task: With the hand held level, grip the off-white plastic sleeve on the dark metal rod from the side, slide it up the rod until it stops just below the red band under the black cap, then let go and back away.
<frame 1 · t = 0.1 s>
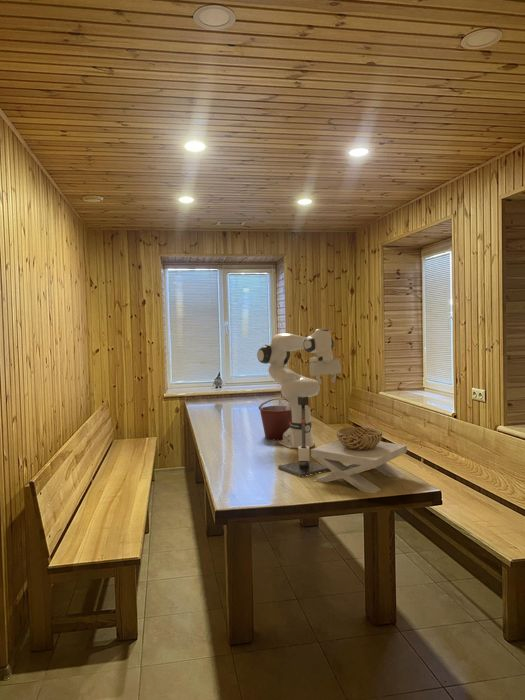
hand: (326, 383, 280), 39 cm above the table, tool pointing down, fingers open, 8 cm apart
bucket: (278, 437, 324), on the table
white table with basket: (359, 478, 236), on the table
rod stand: (304, 469, 251), on the table
sleeve: (303, 453, 251), point 8 cm above the table, slide at 0.0 cm
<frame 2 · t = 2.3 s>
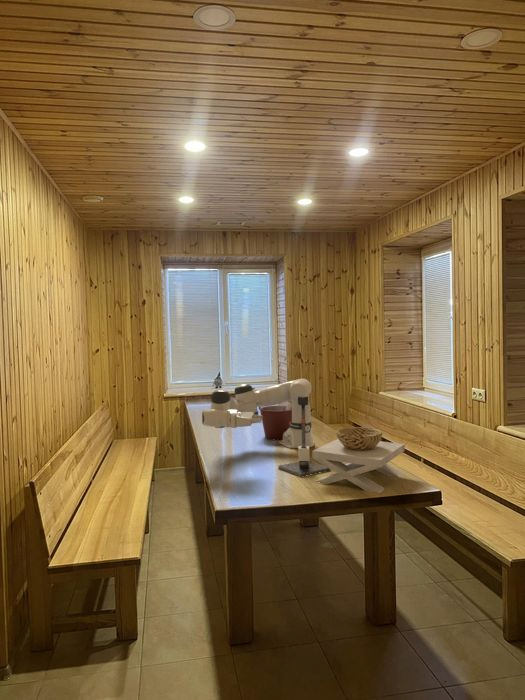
hand: (262, 419, 252), 25 cm above the table, tool horizontal, fingers open, 8 cm apart
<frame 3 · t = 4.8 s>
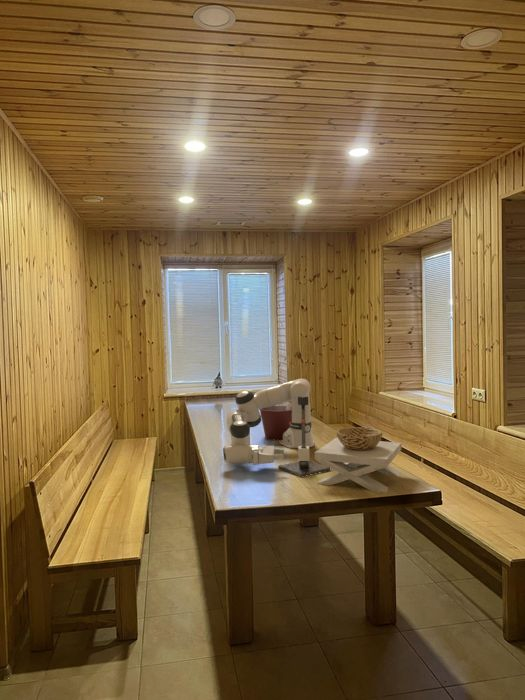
hand: (283, 453, 251), 8 cm above the table, tool horizontal, fingers open, 8 cm apart
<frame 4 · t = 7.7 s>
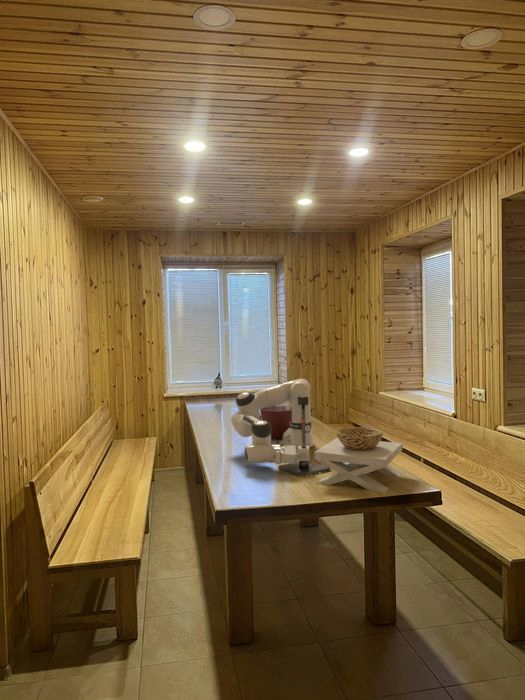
hand: (305, 453, 251), 8 cm above the table, tool horizontal, fingers closed on sleeve, 5 cm apart
sleeve: (303, 453, 251), point 8 cm above the table, slide at 0.0 cm, touching gripper
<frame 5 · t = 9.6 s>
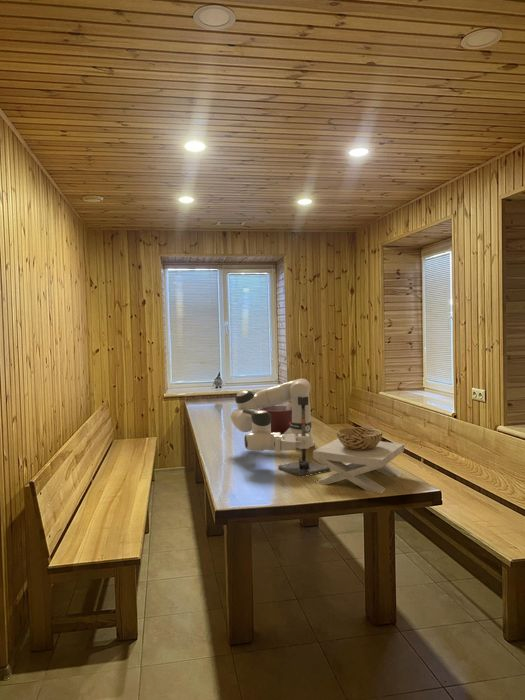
hand: (305, 441, 250), 14 cm above the table, tool horizontal, fingers open, 5 cm apart
sleeve: (303, 441, 251), point 14 cm above the table, slide at 6.0 cm, touching gripper
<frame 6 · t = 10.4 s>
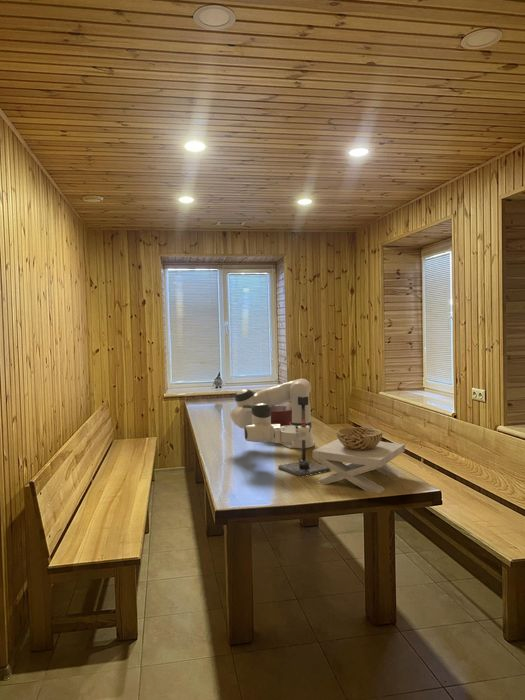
hand: (305, 432, 250), 18 cm above the table, tool horizontal, fingers closed on sleeve, 5 cm apart
sleeve: (303, 432, 250), point 18 cm above the table, slide at 10.2 cm, touching gripper
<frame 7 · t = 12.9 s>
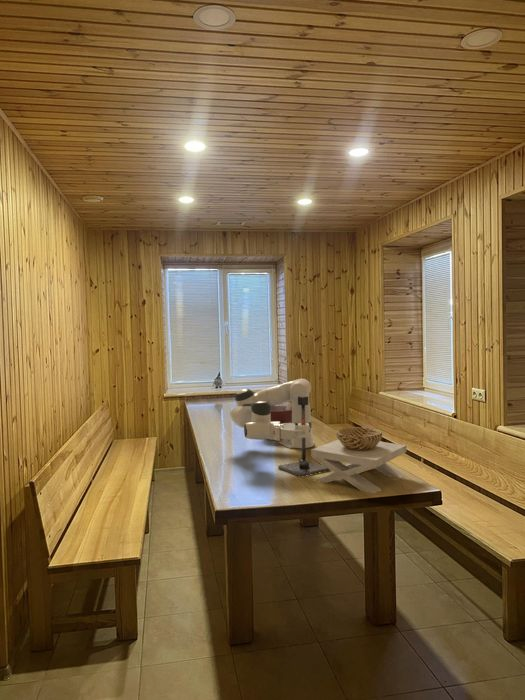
hand: (305, 430, 250), 19 cm above the table, tool horizontal, fingers open, 8 cm apart
sleeve: (303, 430, 250), point 19 cm above the table, slide at 11.4 cm
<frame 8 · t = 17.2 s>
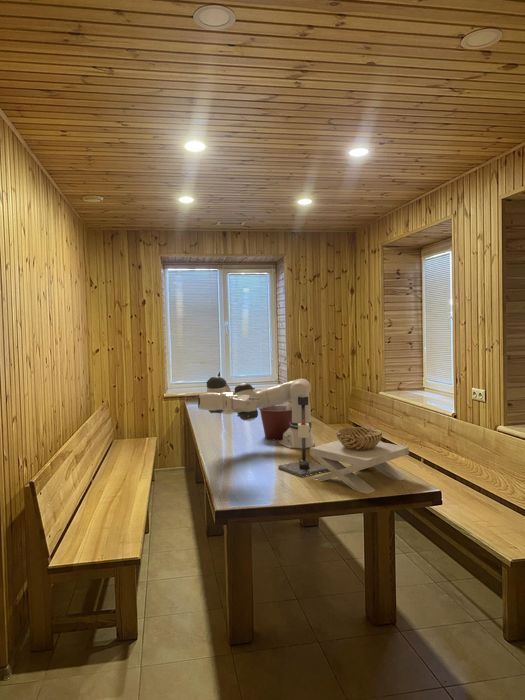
hand: (258, 401, 251), 34 cm above the table, tool horizontal, fingers open, 8 cm apart
at the end: sleeve slide at 11.4 cm; the gripper is holding nothing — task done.
